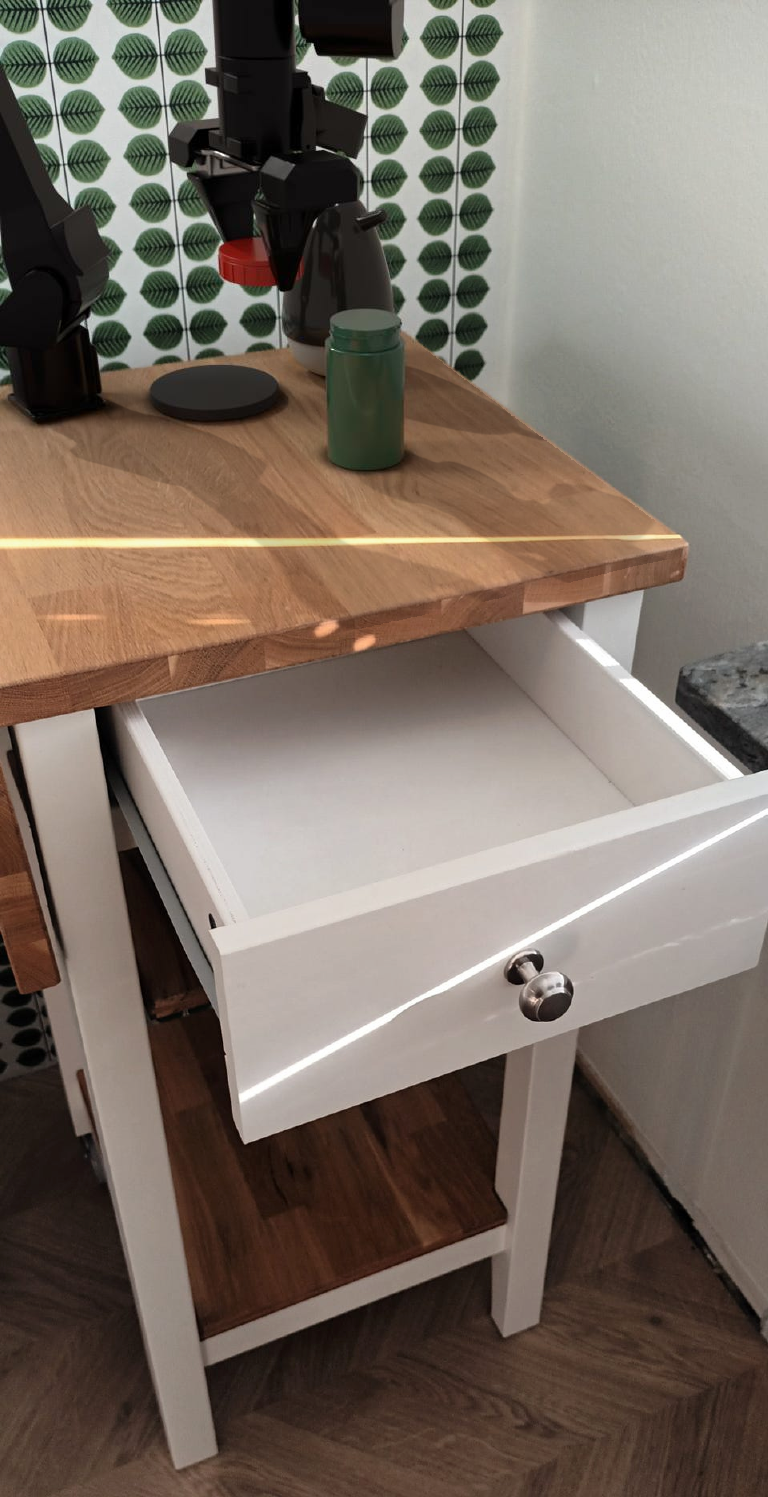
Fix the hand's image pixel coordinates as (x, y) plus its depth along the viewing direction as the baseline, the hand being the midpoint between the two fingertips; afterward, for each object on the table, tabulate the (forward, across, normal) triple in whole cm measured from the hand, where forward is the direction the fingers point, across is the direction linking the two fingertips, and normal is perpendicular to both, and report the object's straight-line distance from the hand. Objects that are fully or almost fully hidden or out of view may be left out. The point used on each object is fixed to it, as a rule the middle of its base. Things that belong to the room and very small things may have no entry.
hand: (264, 280), depth 97 cm
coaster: (+11, +7, +1) cm, 13 cm away
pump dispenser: (+11, +7, -12) cm, 18 cm away
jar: (+11, -11, -2) cm, 16 cm away
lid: (-2, 0, 0) cm, 2 cm away
